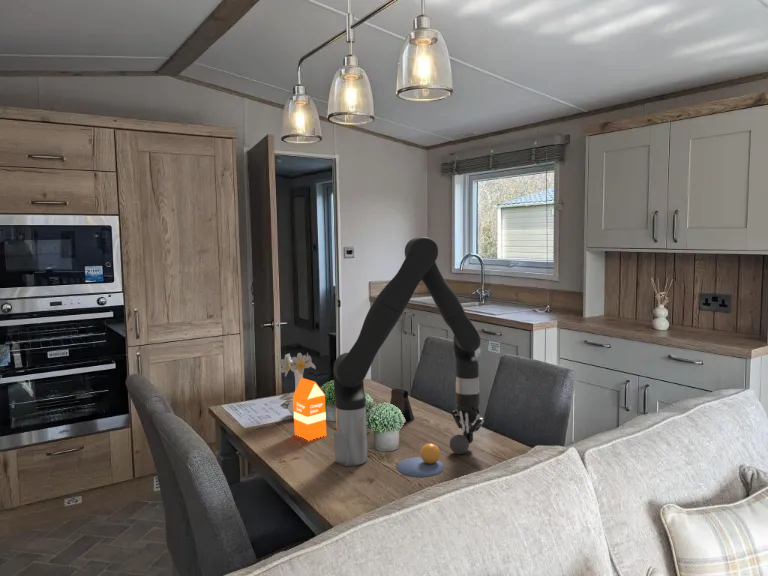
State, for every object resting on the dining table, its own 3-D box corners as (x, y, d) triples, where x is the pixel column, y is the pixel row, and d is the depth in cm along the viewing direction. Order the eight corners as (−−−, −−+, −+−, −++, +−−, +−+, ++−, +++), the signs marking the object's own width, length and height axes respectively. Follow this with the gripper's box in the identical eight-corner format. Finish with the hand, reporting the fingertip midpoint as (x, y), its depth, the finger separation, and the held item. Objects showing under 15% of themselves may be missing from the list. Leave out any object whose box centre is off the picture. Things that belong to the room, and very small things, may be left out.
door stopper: (397, 425, 203) (397, 393, 202) (386, 422, 208) (385, 390, 206) (414, 419, 210) (413, 388, 209) (402, 416, 214) (401, 385, 213)
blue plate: (419, 481, 156) (419, 480, 156) (387, 466, 167) (387, 465, 167) (453, 467, 165) (453, 466, 165) (421, 454, 176) (421, 453, 176)
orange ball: (446, 458, 169) (433, 470, 166) (432, 452, 174) (419, 464, 170) (440, 442, 167) (427, 454, 164) (427, 437, 172) (413, 448, 168)
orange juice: (308, 441, 190) (305, 384, 188) (294, 435, 197) (291, 379, 195) (327, 435, 195) (324, 379, 193) (312, 429, 202) (310, 375, 200)
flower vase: (298, 407, 229) (295, 347, 227) (326, 416, 216) (324, 353, 214) (271, 414, 220) (268, 352, 218) (298, 425, 207) (296, 359, 204)
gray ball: (475, 443, 176) (465, 460, 174) (460, 436, 181) (450, 452, 179) (467, 435, 173) (458, 452, 171) (452, 428, 177) (443, 444, 175)
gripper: (444, 388, 180) (445, 440, 182) (475, 396, 170) (476, 451, 172) (460, 384, 185) (461, 434, 187) (491, 392, 175) (491, 445, 176)
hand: (468, 442), depth 179 cm, fingers closed
